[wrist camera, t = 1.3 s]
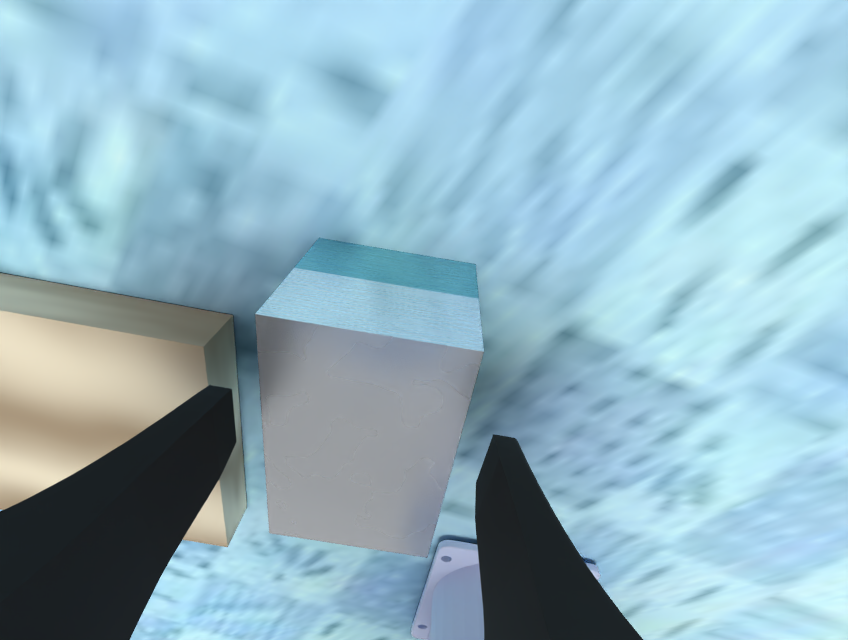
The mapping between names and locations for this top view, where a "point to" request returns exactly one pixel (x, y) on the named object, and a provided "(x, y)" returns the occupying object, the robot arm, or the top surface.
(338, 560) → the top surface
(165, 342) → the stand
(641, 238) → the top surface
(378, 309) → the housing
